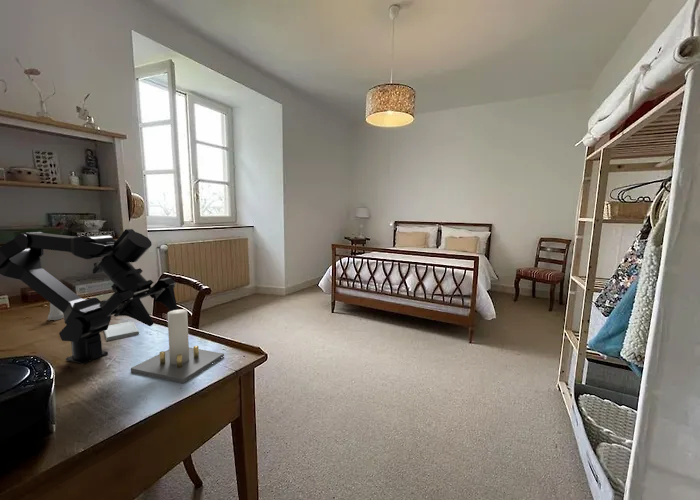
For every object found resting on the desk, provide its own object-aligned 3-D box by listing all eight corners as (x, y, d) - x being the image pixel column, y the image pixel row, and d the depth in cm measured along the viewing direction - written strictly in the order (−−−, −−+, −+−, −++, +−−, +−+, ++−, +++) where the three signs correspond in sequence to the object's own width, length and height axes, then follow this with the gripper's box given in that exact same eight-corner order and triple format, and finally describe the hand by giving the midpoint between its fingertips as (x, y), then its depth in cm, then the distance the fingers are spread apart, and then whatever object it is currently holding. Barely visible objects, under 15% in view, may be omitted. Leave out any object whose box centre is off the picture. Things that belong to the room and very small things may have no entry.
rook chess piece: (52, 317, 111) (50, 295, 110) (67, 316, 113) (65, 295, 112) (44, 321, 107) (42, 299, 106) (60, 320, 108) (58, 298, 107)
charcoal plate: (130, 371, 75) (129, 356, 74) (177, 348, 88) (177, 335, 88) (183, 383, 70) (182, 367, 70) (224, 356, 84) (223, 343, 83)
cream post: (167, 365, 77) (164, 315, 75) (173, 357, 81) (170, 309, 79) (186, 363, 78) (184, 314, 76) (191, 355, 82) (189, 309, 80)
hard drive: (139, 331, 98) (132, 320, 107) (106, 337, 92) (102, 326, 101) (139, 336, 98) (133, 325, 107) (106, 342, 92) (103, 330, 101)
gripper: (132, 286, 88) (169, 325, 89) (67, 305, 70) (114, 354, 70) (157, 261, 87) (194, 300, 87) (97, 273, 68) (145, 323, 69)
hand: (165, 318), depth 78 cm, fingers open, 9 cm apart
